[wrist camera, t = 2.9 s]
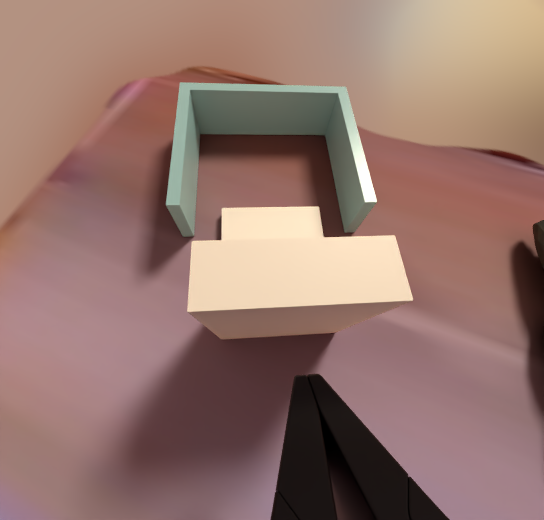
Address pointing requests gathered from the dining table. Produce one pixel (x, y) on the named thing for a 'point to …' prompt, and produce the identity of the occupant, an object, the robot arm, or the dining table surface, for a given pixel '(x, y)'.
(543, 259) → the statue
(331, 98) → the box
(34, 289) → the dining table surface
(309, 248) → the bookend
